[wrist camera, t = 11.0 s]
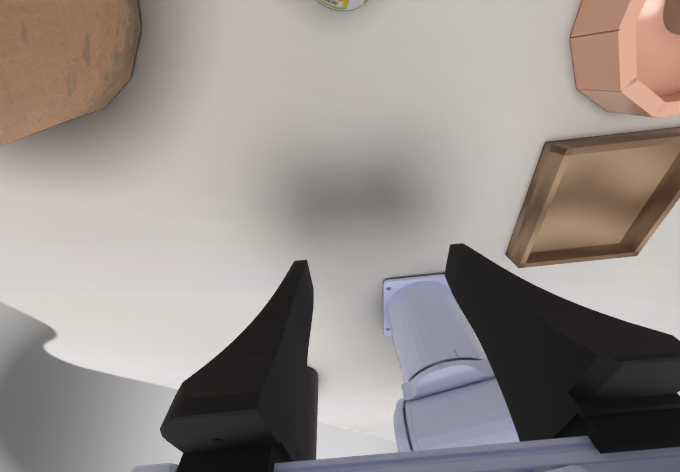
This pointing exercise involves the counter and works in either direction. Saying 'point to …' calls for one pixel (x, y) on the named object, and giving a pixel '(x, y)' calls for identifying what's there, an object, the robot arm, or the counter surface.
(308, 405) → the vinegar
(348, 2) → the supplement bottle
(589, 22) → the bowl
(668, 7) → the stone
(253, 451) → the robot arm
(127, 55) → the pottery
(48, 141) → the counter surface
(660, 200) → the tray
